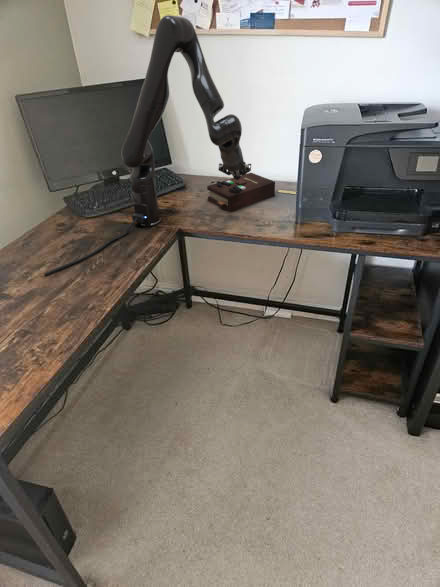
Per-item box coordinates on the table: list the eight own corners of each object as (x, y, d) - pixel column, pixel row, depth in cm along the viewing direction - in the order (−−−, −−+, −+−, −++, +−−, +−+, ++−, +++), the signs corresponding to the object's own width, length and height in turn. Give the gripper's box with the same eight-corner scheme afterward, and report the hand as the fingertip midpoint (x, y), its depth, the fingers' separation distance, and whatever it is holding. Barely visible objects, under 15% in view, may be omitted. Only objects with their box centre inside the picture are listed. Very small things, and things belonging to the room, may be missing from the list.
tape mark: (296, 194, 182) (296, 193, 182) (277, 192, 185) (277, 191, 185) (297, 192, 184) (297, 191, 184) (279, 190, 187) (279, 189, 187)
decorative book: (281, 179, 177) (226, 197, 164) (280, 195, 182) (227, 214, 168) (253, 168, 190) (200, 185, 177) (253, 184, 195) (202, 201, 181)
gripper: (251, 146, 141) (254, 168, 158) (214, 146, 144) (222, 168, 161) (249, 166, 140) (253, 186, 157) (212, 165, 143) (220, 186, 159)
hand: (237, 177), depth 159 cm, fingers closed
